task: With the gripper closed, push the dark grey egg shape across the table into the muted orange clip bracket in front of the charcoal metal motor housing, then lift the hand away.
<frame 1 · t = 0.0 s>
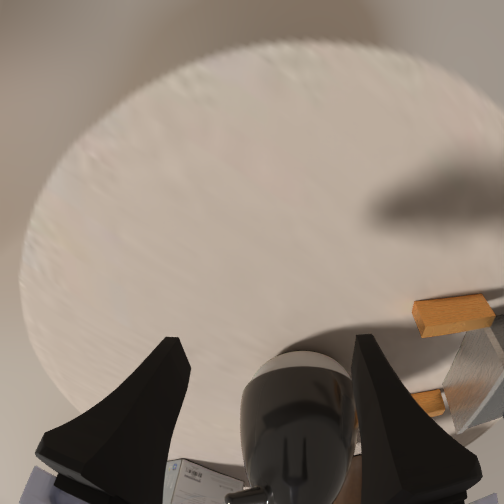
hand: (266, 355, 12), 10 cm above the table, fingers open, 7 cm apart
motor: (460, 352, 24), on the table
plant pot: (363, 463, 40), on the table
dark grey egg shape: (300, 367, 27), on the table
hard drive box: (205, 472, 49), on the table
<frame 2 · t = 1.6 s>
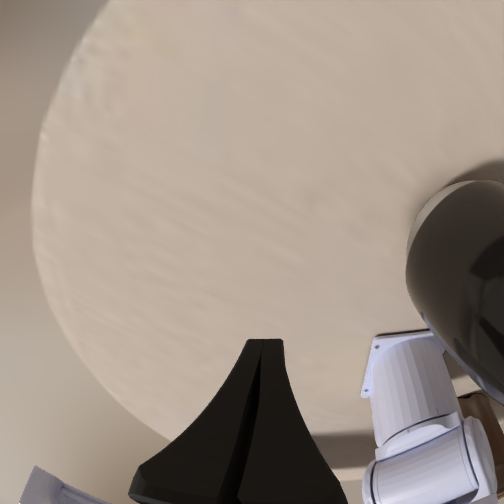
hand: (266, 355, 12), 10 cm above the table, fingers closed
plant pot: (451, 415, 32), on the table
dark grey egg shape: (447, 227, 19), on the table
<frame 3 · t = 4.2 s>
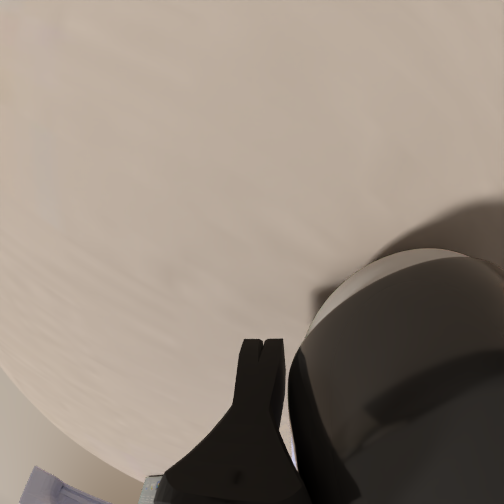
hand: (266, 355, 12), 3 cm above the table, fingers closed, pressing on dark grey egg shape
dark grey egg shape: (391, 308, 13), on the table, touching gripper
hard drive box: (200, 491, 35), on the table
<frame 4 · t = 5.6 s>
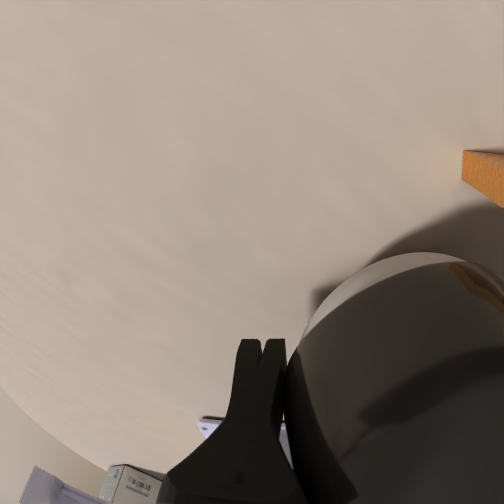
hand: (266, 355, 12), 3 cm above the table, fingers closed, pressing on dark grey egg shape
dark grey egg shape: (386, 310, 13), on the table, touching gripper
hard drive box: (159, 483, 36), on the table
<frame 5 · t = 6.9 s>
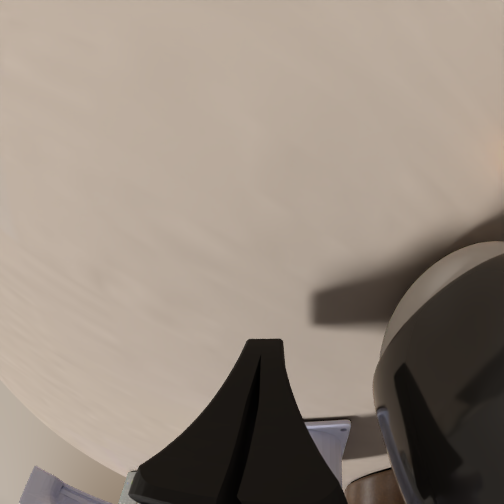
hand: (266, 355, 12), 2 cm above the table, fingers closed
plant pot: (393, 477, 27), on the table
dark grey egg shape: (452, 299, 13), on the table
hard drive box: (181, 487, 35), on the table
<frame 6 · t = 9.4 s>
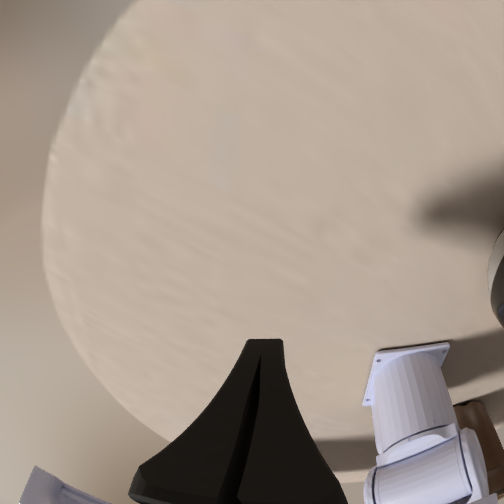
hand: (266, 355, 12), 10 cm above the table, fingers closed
plant pot: (449, 421, 33), on the table
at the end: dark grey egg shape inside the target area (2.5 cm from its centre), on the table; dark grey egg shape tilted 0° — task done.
